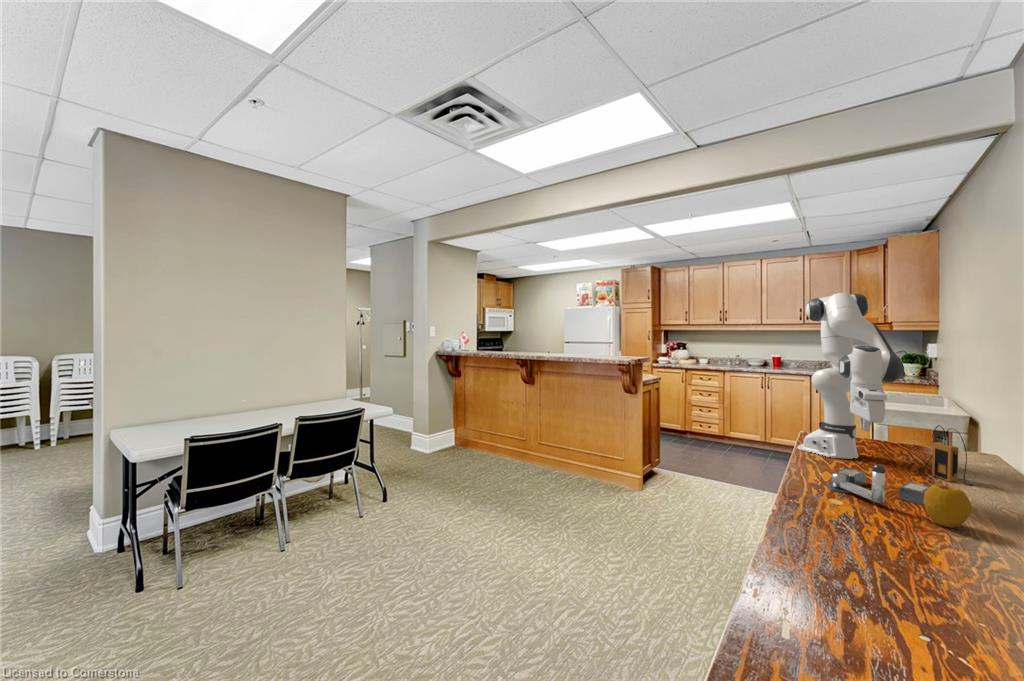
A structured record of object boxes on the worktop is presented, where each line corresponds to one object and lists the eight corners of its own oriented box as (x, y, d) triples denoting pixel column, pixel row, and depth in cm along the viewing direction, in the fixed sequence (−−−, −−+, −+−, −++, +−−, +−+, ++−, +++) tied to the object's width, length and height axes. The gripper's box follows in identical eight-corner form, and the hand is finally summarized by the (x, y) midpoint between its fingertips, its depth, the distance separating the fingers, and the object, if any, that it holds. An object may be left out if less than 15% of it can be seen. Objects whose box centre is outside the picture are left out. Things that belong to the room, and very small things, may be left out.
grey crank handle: (828, 484, 153) (829, 450, 152) (838, 483, 153) (839, 450, 153) (877, 504, 135) (878, 466, 135) (888, 503, 136) (889, 466, 135)
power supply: (899, 499, 143) (899, 486, 143) (909, 493, 148) (910, 481, 148) (923, 505, 138) (924, 492, 137) (933, 499, 143) (933, 486, 143)
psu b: (834, 483, 157) (834, 471, 157) (846, 478, 163) (846, 467, 163) (854, 488, 152) (854, 476, 152) (865, 483, 158) (865, 471, 157)
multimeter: (988, 486, 155) (990, 431, 154) (960, 486, 155) (961, 430, 155) (947, 472, 170) (949, 422, 169) (922, 472, 170) (923, 422, 169)
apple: (971, 525, 123) (973, 485, 123) (970, 536, 117) (971, 493, 117) (924, 514, 131) (926, 476, 130) (920, 524, 124) (922, 483, 124)
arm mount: (830, 491, 149) (831, 488, 149) (825, 485, 155) (825, 483, 155) (852, 493, 147) (852, 491, 147) (846, 487, 153) (846, 485, 153)
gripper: (845, 387, 164) (844, 424, 164) (866, 395, 145) (865, 436, 145) (865, 388, 161) (864, 425, 161) (889, 396, 142) (888, 437, 142)
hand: (865, 430), depth 153 cm, fingers closed
